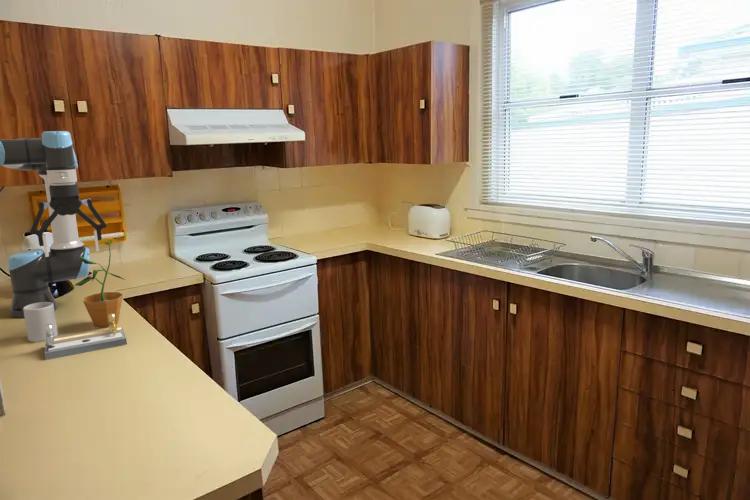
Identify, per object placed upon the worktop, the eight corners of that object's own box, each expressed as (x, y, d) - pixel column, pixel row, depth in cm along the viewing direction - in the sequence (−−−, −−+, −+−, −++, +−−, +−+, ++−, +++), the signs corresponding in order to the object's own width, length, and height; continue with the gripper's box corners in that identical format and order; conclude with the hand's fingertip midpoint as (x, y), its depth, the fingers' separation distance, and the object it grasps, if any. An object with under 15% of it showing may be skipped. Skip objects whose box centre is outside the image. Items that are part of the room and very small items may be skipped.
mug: (56, 339, 175) (51, 307, 173) (25, 344, 172) (20, 311, 170) (61, 328, 186) (56, 297, 184) (32, 332, 183) (27, 301, 180)
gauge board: (46, 346, 169) (45, 337, 169) (123, 332, 180) (122, 324, 179) (45, 359, 159) (44, 350, 158) (126, 344, 169) (125, 335, 169)
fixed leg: (47, 339, 167) (44, 323, 166) (54, 338, 168) (52, 322, 167) (46, 347, 161) (44, 331, 160) (54, 345, 162) (51, 329, 161)
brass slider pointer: (109, 328, 175) (107, 312, 174) (116, 327, 176) (114, 311, 175) (111, 335, 169) (109, 319, 168) (118, 334, 170) (116, 318, 169)
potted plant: (122, 312, 201) (112, 233, 195) (141, 324, 188) (132, 239, 182) (69, 324, 189) (57, 241, 183) (86, 337, 176) (74, 248, 170)
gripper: (12, 187, 151) (23, 260, 156) (110, 182, 163) (118, 250, 167) (14, 185, 158) (26, 256, 162) (108, 180, 169) (116, 246, 174)
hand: (73, 253), depth 165 cm, fingers open, 13 cm apart
